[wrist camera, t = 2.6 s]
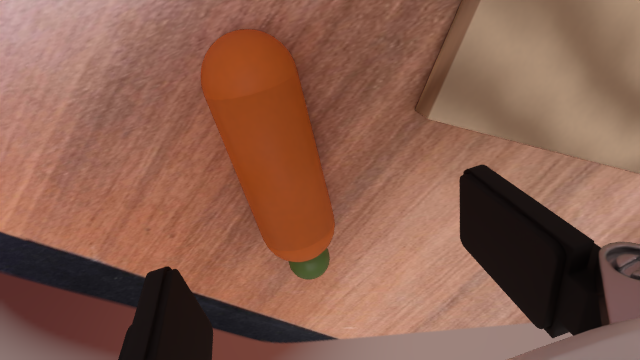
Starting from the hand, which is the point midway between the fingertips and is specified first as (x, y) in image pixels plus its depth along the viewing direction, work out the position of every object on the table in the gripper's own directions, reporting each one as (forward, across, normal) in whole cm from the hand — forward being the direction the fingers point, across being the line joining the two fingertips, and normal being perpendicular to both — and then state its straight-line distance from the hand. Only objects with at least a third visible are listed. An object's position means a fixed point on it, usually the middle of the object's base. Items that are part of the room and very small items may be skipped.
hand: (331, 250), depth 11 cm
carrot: (+8, 0, 0) cm, 8 cm away
